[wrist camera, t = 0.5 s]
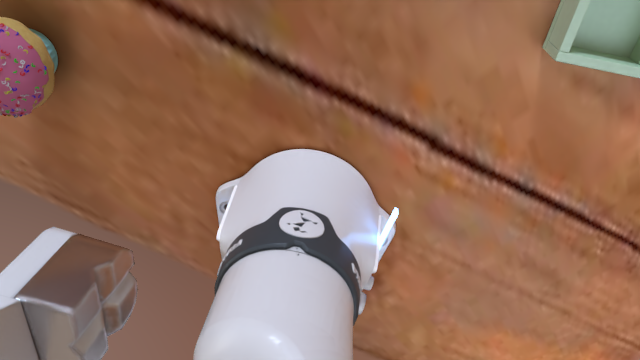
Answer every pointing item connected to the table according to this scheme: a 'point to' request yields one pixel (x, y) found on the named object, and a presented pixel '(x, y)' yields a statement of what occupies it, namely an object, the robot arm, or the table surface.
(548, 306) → the table surface
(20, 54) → the cupcake
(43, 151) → the table surface
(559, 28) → the compartment tray
